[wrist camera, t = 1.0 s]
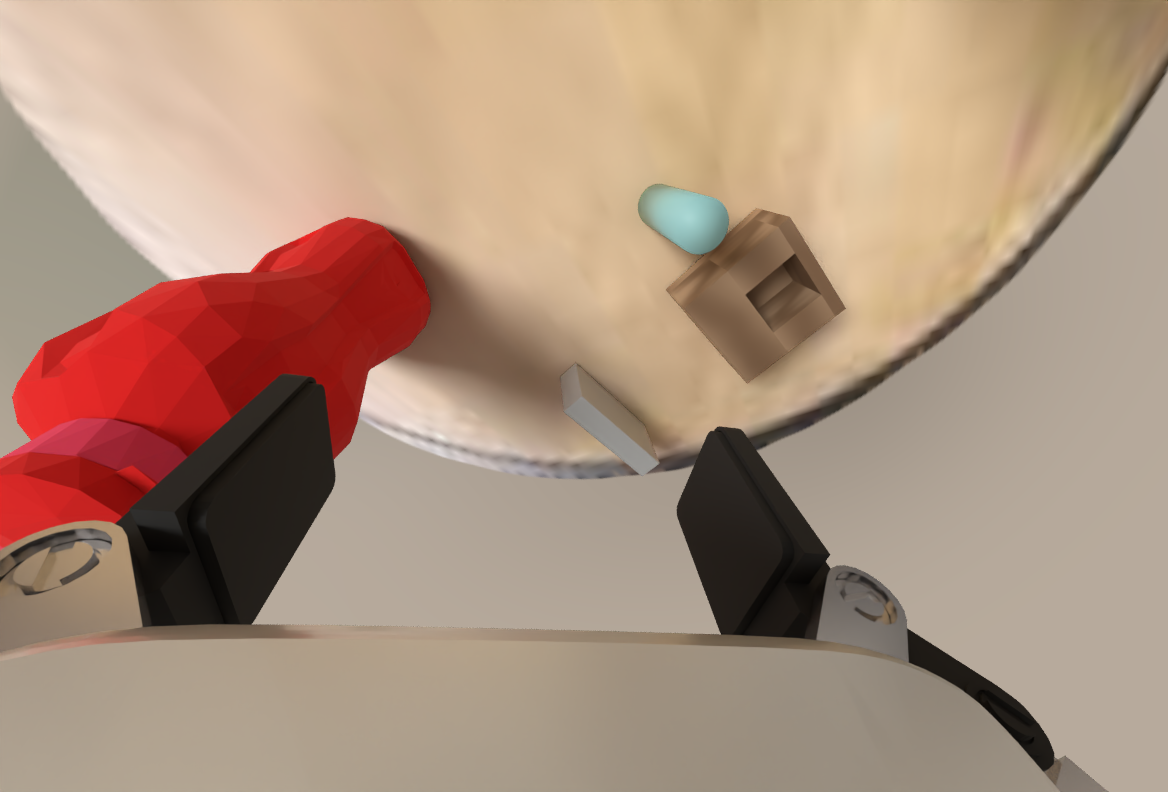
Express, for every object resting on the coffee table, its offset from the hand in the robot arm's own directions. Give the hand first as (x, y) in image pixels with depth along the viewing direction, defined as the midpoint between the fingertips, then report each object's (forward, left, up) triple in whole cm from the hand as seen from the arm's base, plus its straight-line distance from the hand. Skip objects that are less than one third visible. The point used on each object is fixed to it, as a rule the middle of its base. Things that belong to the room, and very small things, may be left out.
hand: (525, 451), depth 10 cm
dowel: (-9, +5, -26) cm, 27 cm away
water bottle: (+12, -7, -26) cm, 29 cm away
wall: (+6, +15, -26) cm, 30 cm away
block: (-10, +15, -26) cm, 31 cm away
